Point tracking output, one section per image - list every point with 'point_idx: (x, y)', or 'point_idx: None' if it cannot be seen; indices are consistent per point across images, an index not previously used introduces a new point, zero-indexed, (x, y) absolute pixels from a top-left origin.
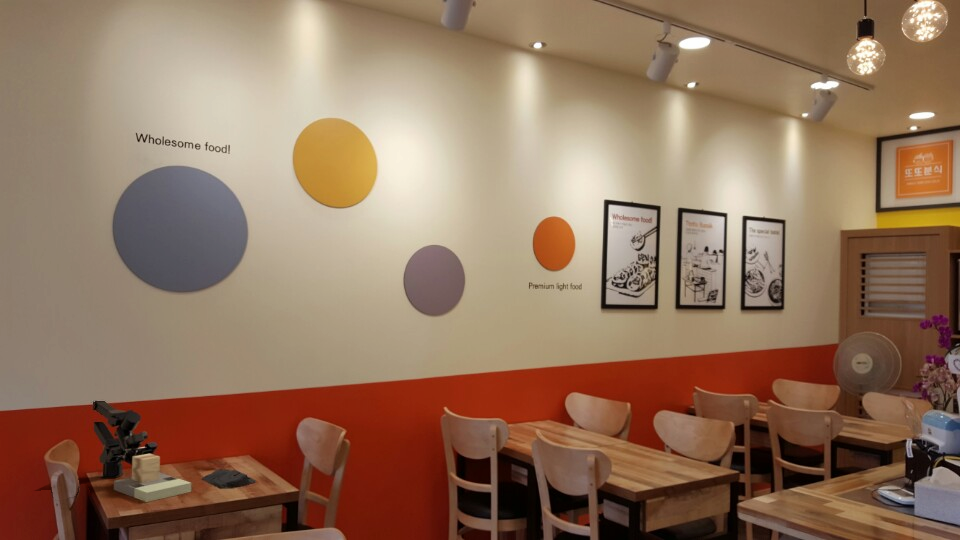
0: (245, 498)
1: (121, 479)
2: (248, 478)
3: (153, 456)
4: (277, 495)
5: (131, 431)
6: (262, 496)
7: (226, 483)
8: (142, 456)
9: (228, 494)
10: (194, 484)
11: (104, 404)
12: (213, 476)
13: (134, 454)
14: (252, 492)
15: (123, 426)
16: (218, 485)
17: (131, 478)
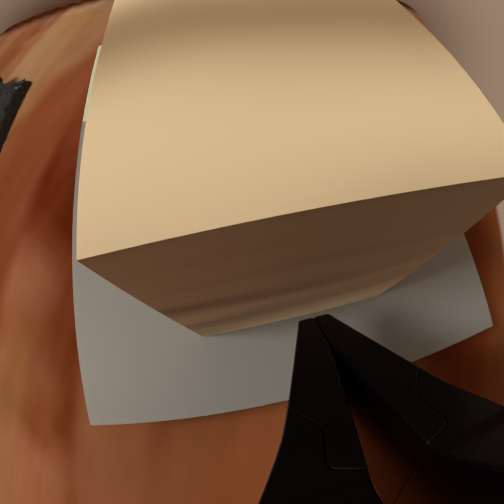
0: (74, 7)
1: (448, 339)
2: None
3: (172, 3)
4: (27, 19)
5: None
6: (45, 15)
7: (5, 85)
8: (347, 54)
9: (67, 33)
10: (29, 176)
11: None
12: None
13: (485, 450)
14: (27, 39)
15: None
16: (16, 98)
17: (374, 328)
